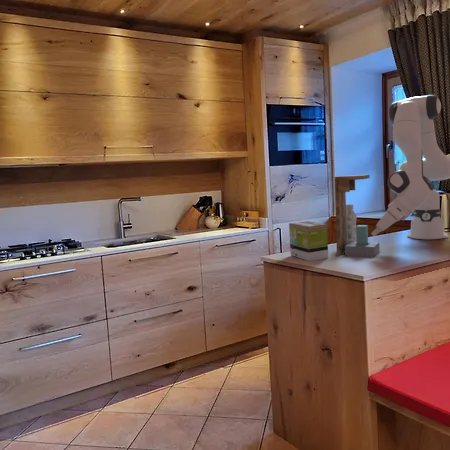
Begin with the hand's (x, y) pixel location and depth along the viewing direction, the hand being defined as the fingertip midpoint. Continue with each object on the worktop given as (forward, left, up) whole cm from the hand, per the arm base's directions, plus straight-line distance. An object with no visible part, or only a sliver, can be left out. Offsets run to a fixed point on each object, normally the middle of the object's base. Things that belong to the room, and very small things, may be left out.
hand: (374, 233), depth 193 cm
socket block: (0, -5, -9) cm, 10 cm away
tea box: (+12, -25, -9) cm, 29 cm away
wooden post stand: (0, -9, -9) cm, 12 cm away
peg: (0, -5, -9) cm, 10 cm away
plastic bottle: (-12, -13, -9) cm, 20 cm away
